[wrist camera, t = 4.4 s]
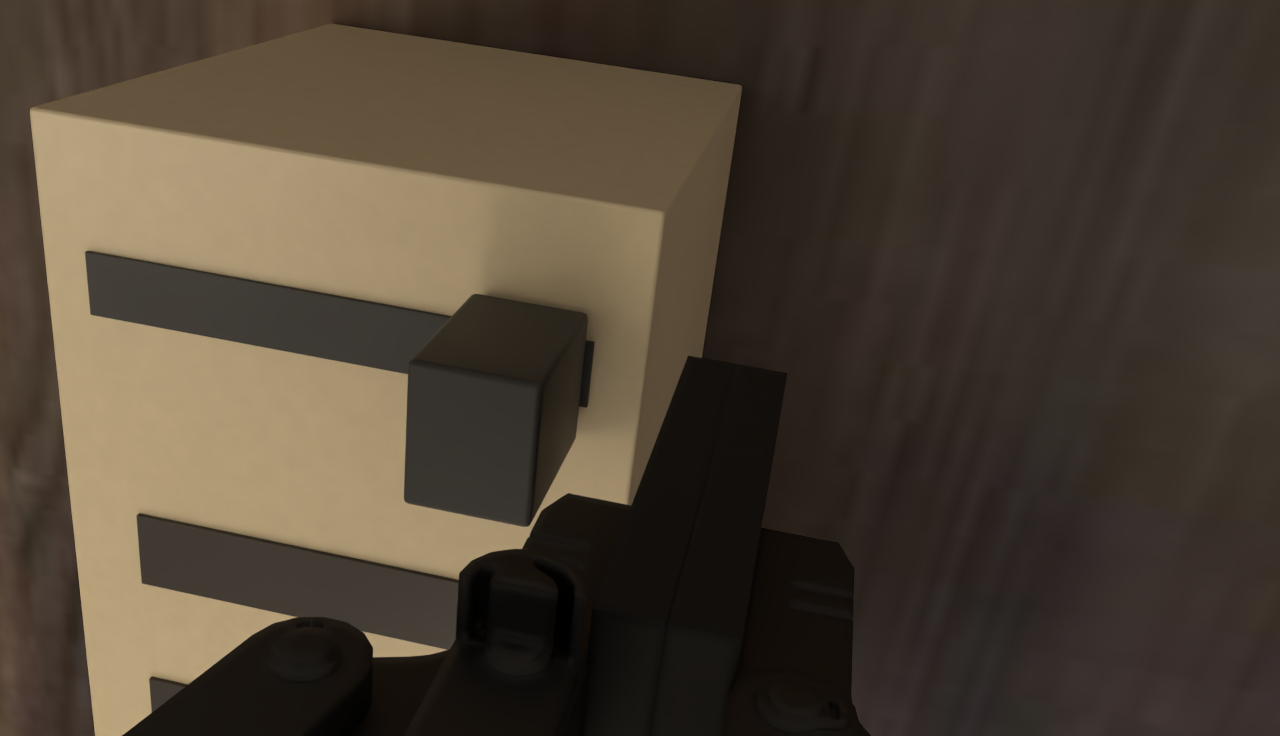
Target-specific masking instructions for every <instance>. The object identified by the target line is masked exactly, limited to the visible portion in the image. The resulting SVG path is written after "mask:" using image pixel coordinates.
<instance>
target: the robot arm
mask: <svg viewBox="0 0 1280 736" xmlns="http://www.w3.org/2000/svg"><path fill="white" fill-rule="evenodd" d="M786 378H787V373H784V372H778V371H772V370H767V369H761V368H755V367H750V366H744V365H738V364H733V363H727V362H721V361H716V360H710V359H705V358H699V357H693V356H688V357H687V360H686V363H685V365H684V368H683V370H682V373H681V376H680V378H679V381H678V384H677V386H676V389H675V392H674V394H673V397H672V400H671V402H670V405H669V407H668V410H667V413H666V415H665V418H664V421H663V423H662V426H661V429H660V431H659V434H658V437H657V439H656V442H655V445H654V447H653V450H652V452H651V455H650V458H649V460H648V463H647V466H646V468H645V471H644V474H643V476H642V479H641V482H640V484H639V487H638V489H637V492H636V495H635V497H634V500H633V503H632V505H626V504H621V503H616V502H611V501H606V500H600V499H595V498H590V497H585V496H580V495H575V494H570V493H567V494H566V495H564V496H563V497H561V498H560V499H558V500H557V501H555V502H553V503H552V504H550V505H549V506H547V507H546V508H544V509H543V510H542V511H541V513H540V515H539V517H538V519H537V521H536V523H535V525H534V527H533V528H532V530H531V532H530V537H528V538H527V540H526V542H525V544H524V546H523V548H522V549H509V550H502V551H495V552H490V553H488V554H485V555H483V556H481V557H479V558H476V559H474V560H472V561H471V562H470V563H469V564H468V565H467V566H466V567H465V568H464V569H463V570H462V571H461V572H460V573H459V585H458V603H457V621H456V639H455V641H454V643H453V645H452V647H451V649H449V650H445V651H442V652H438V653H434V654H430V655H421V656H410V657H373V647H372V645H371V644H370V642H369V640H368V639H367V637H366V635H365V634H364V633H363V632H362V631H360V630H358V629H357V628H355V627H354V626H352V625H350V624H349V623H347V622H344V621H340V620H336V619H331V618H327V617H297V618H293V619H289V620H285V621H281V622H277V623H273V624H271V625H269V626H268V627H266V628H264V629H262V630H260V631H259V632H257V633H255V634H253V635H252V636H250V637H249V638H248V639H246V640H245V641H244V642H243V643H241V644H240V645H239V646H237V647H236V648H235V649H234V650H232V651H231V652H230V653H228V654H227V655H226V656H224V657H223V658H222V659H221V660H219V661H218V662H217V663H215V664H214V665H213V666H212V667H210V668H209V669H208V670H206V671H205V672H204V673H203V674H201V675H200V676H199V677H197V678H196V679H195V680H193V681H192V682H191V683H190V684H188V685H187V686H186V687H184V688H183V689H182V690H181V691H179V692H178V693H177V694H175V695H174V696H173V697H171V698H170V699H169V700H168V701H166V702H165V703H164V704H162V705H161V706H160V707H159V708H157V709H156V710H155V711H153V712H152V713H151V714H149V715H148V716H147V717H146V718H144V719H143V720H142V721H140V722H139V723H138V724H137V725H135V726H134V727H133V728H131V729H130V730H129V731H127V732H126V733H125V734H124V735H122V736H871V735H870V734H869V733H868V732H867V731H866V730H865V728H864V727H863V726H862V725H861V724H860V722H859V720H858V717H857V713H856V709H855V706H854V705H853V704H852V698H851V681H852V641H853V620H852V619H853V601H854V599H853V595H854V567H853V566H852V564H851V562H850V561H849V559H848V557H847V556H846V554H845V553H844V551H843V549H842V548H841V546H840V545H839V543H837V542H832V541H826V540H821V539H816V538H811V537H806V536H801V535H796V534H790V533H785V532H780V531H775V530H770V529H765V528H761V526H762V520H763V514H764V508H765V503H766V497H767V491H768V485H769V479H770V473H771V467H772V461H773V455H774V449H775V443H776V437H777V431H778V425H779V419H780V413H781V407H782V401H783V395H784V389H785V383H786Z"/></svg>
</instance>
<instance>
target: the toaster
mask: <svg viewBox="0 0 1280 736" xmlns="http://www.w3.org/2000/svg"><path fill="white" fill-rule="evenodd" d="M741 94H742V86H741V85H737V84H731V83H724V82H717V81H711V80H704V79H698V78H691V77H684V76H678V75H671V74H664V73H658V72H651V71H644V70H638V69H631V68H624V67H618V66H611V65H604V64H598V63H591V62H584V61H578V60H571V59H564V58H558V57H551V56H545V55H538V54H531V53H525V52H518V51H511V50H505V49H498V48H491V47H485V46H478V45H471V44H465V43H458V42H451V41H445V40H438V39H431V38H425V37H418V36H411V35H405V34H398V33H392V32H385V31H378V30H372V29H365V28H358V27H352V26H345V25H338V24H332V23H331V24H327V25H324V26H320V27H317V28H313V29H310V30H306V31H303V32H299V33H295V34H292V35H288V36H285V37H281V38H278V39H274V40H270V41H267V42H263V43H260V44H256V45H253V46H249V47H246V48H242V49H238V50H235V51H231V52H228V53H224V54H221V55H217V56H213V57H210V58H206V59H203V60H199V61H196V62H192V63H189V64H185V65H181V66H178V67H174V68H171V69H167V70H164V71H160V72H156V73H153V74H149V75H146V76H142V77H139V78H135V79H132V80H128V81H124V82H121V83H117V84H114V85H110V86H107V87H103V88H99V89H96V90H92V91H89V92H85V93H82V94H78V95H75V96H71V97H67V98H64V99H60V100H57V101H53V102H50V103H46V104H42V105H39V106H35V107H32V108H31V109H30V118H31V127H32V137H33V147H34V156H35V166H36V175H37V185H38V194H39V204H40V213H41V223H42V232H43V242H44V252H45V261H46V271H47V280H48V290H49V299H50V309H51V318H52V328H53V337H54V347H55V357H56V366H57V376H58V385H59V395H60V404H61V414H62V423H63V433H64V442H65V452H66V462H67V471H68V481H69V490H70V500H71V509H72V519H73V528H74V538H75V548H76V557H77V567H78V576H79V586H80V595H81V605H82V614H83V624H84V633H85V643H86V653H87V662H88V672H89V681H90V691H91V700H92V710H93V719H94V729H95V736H122V735H124V734H125V733H126V732H127V731H129V730H130V729H131V728H133V727H134V726H135V725H137V724H138V723H139V722H140V721H142V720H143V719H144V718H146V717H147V716H148V715H149V714H151V713H152V712H153V711H155V710H156V709H157V708H159V707H160V706H161V705H162V704H164V703H165V702H166V701H168V700H169V699H170V698H171V697H173V696H174V695H175V694H177V693H178V692H179V691H181V690H182V689H183V688H184V687H186V686H187V685H188V684H190V683H191V682H192V681H193V680H195V679H196V678H197V677H199V676H200V675H201V674H203V673H204V672H205V671H206V670H208V669H209V668H210V667H212V666H213V665H214V664H215V663H217V662H218V661H219V660H221V659H222V658H223V657H224V656H226V655H227V654H228V653H230V652H231V651H232V650H234V649H235V648H236V647H237V646H239V645H240V644H241V643H243V642H244V641H245V640H246V639H248V638H249V637H250V636H252V635H253V634H255V633H257V632H259V631H260V630H262V629H264V628H266V627H268V626H269V625H271V624H273V623H277V622H281V621H285V620H289V619H293V618H297V617H327V618H331V619H336V620H340V621H344V622H347V623H349V624H350V625H352V626H354V627H355V628H357V629H358V630H360V631H362V632H363V633H364V634H365V635H366V637H367V639H368V640H369V642H370V644H371V645H372V647H373V657H410V656H421V655H430V654H434V653H438V652H442V651H445V650H449V649H451V647H452V645H453V643H454V641H455V639H456V621H457V603H458V585H459V573H460V572H461V571H462V570H463V569H464V568H465V567H466V566H467V565H468V564H469V563H470V562H471V561H472V560H474V559H476V558H479V557H481V556H483V555H485V554H488V553H490V552H495V551H502V550H509V549H522V548H523V546H524V544H525V542H526V540H527V538H528V537H530V532H531V530H532V528H533V527H534V525H535V523H536V521H537V519H538V517H539V515H540V513H541V511H542V510H543V509H544V508H546V507H547V506H549V505H550V504H552V503H553V502H555V501H557V500H558V499H560V498H561V497H563V496H564V495H566V494H567V493H570V494H575V495H580V496H585V497H590V498H595V499H600V500H606V501H611V502H616V503H621V504H626V505H632V503H633V500H634V497H635V495H636V492H637V489H638V487H639V484H640V482H641V479H642V476H643V474H644V471H645V468H646V466H647V463H648V460H649V458H650V455H651V452H652V450H653V447H654V445H655V442H656V439H657V437H658V434H659V431H660V429H661V426H662V423H663V421H664V418H665V415H666V413H667V410H668V407H669V405H670V402H671V400H672V397H673V394H674V392H675V389H676V386H677V384H678V381H679V378H680V376H681V373H682V370H683V368H684V365H685V363H686V360H687V357H688V356H693V357H699V358H702V354H703V347H704V341H705V334H706V327H707V321H708V314H709V307H710V301H711V294H712V287H713V281H714V274H715V267H716V260H717V254H718V247H719V240H720V234H721V227H722V220H723V214H724V207H725V200H726V194H727V187H728V180H729V174H730V167H731V160H732V154H733V147H734V140H735V134H736V127H737V120H738V114H739V107H740V100H741ZM472 294H481V295H487V296H492V297H498V298H504V299H509V300H515V301H521V302H526V303H532V304H537V305H543V306H549V307H554V308H560V309H566V310H571V311H577V312H583V313H585V314H587V317H588V325H587V334H586V344H585V354H584V363H583V373H582V383H581V392H580V402H579V412H578V421H577V431H576V439H575V441H574V443H573V444H572V446H571V448H570V450H569V452H568V454H567V456H566V458H565V460H564V462H563V464H562V465H561V467H560V469H559V471H558V473H557V475H556V477H555V479H554V481H553V483H552V485H551V486H550V488H549V490H548V492H547V494H546V496H545V498H544V500H543V502H542V504H541V505H540V507H539V509H538V511H537V513H536V515H535V517H534V519H533V521H532V523H531V524H530V526H528V527H522V526H517V525H512V524H507V523H502V522H497V521H492V520H487V519H482V518H477V517H472V516H467V515H462V514H457V513H452V512H447V511H442V510H437V509H432V508H427V507H422V506H417V505H413V504H408V503H406V502H405V501H404V476H405V447H406V418H407V388H408V363H409V361H410V360H411V359H412V358H413V356H414V355H415V354H416V353H417V352H418V351H419V350H420V349H421V348H422V347H423V346H424V345H425V344H426V343H427V342H428V341H429V340H430V339H431V337H432V336H433V335H434V334H435V333H436V332H437V331H438V330H439V329H440V328H441V327H442V326H443V325H444V324H445V323H446V322H447V321H448V319H449V318H450V317H451V316H452V315H453V314H454V313H455V312H456V311H457V310H458V309H459V308H460V307H461V306H462V305H463V304H464V303H465V302H466V300H467V299H468V298H469V297H470V296H471V295H472Z"/></svg>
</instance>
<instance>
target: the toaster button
mask: <svg viewBox="0 0 1280 736" xmlns="http://www.w3.org/2000/svg"><path fill="white" fill-rule="evenodd" d="M587 325H588V317H587V314H585V313H583V312H577V311H571V310H566V309H560V308H554V307H549V306H543V305H537V304H532V303H526V302H521V301H515V300H509V299H504V298H498V297H492V296H487V295H481V294H472V295H471V296H470V297H469V298H468V299H467V300H466V302H465V303H464V304H463V305H462V306H461V307H460V308H459V309H458V310H457V311H456V312H455V313H454V314H453V315H452V316H451V317H450V318H449V319H448V321H447V322H446V323H445V324H444V325H443V326H442V327H441V328H440V329H439V330H438V331H437V332H436V333H435V334H434V335H433V336H432V337H431V339H430V340H429V341H428V342H427V343H426V344H425V345H424V346H423V347H422V348H421V349H420V350H419V351H418V352H417V353H416V354H415V355H414V356H413V358H412V359H411V360H410V361H409V363H408V388H407V418H406V447H405V476H404V501H405V502H406V503H408V504H413V505H417V506H422V507H427V508H432V509H437V510H442V511H447V512H452V513H457V514H462V515H467V516H472V517H477V518H482V519H487V520H492V521H497V522H502V523H507V524H512V525H517V526H522V527H528V526H530V524H531V523H532V521H533V519H534V517H535V515H536V513H537V511H538V509H539V507H540V505H541V504H542V502H543V500H544V498H545V496H546V494H547V492H548V490H549V488H550V486H551V485H552V483H553V481H554V479H555V477H556V475H557V473H558V471H559V469H560V467H561V465H562V464H563V462H564V460H565V458H566V456H567V454H568V452H569V450H570V448H571V446H572V444H573V443H574V441H575V439H576V431H577V421H578V412H579V402H580V392H581V383H582V373H583V363H584V354H585V344H586V334H587Z"/></svg>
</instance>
